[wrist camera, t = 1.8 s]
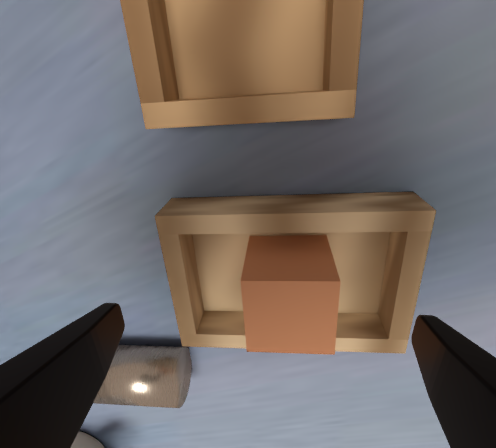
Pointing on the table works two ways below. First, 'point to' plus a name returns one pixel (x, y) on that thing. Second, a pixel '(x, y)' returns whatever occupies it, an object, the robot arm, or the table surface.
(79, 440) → the mug
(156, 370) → the grey rounded piece
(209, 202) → the birch box
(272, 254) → the cube
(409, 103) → the table surface
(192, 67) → the oak box
